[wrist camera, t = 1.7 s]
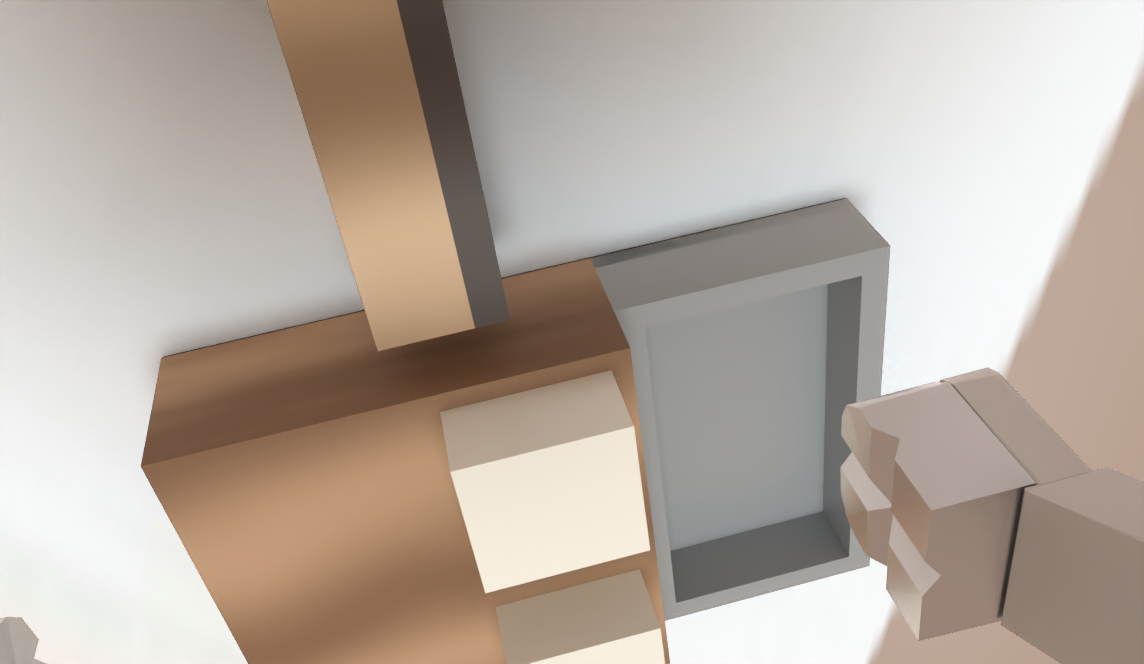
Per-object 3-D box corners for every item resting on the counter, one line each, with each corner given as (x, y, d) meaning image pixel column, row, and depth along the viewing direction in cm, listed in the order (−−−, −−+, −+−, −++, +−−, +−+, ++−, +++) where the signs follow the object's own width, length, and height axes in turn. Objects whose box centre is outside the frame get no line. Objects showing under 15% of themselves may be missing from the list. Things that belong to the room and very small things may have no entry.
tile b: (495, 606, 27) (507, 669, 25) (639, 569, 27) (660, 628, 26) (519, 693, 29) (532, 755, 28) (652, 657, 30) (671, 716, 28)
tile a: (440, 411, 23) (450, 472, 21) (611, 370, 23) (633, 426, 22) (473, 531, 25) (485, 593, 24) (628, 491, 26) (650, 550, 24)
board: (161, 357, 25) (141, 466, 22) (590, 258, 26) (630, 347, 23) (302, 649, 32) (302, 763, 29) (634, 562, 33) (669, 662, 30)
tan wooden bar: (199, -288, 18) (180, -270, 15) (366, -318, 18) (376, -305, 16) (369, 269, 25) (377, 350, 22) (487, 242, 26) (509, 319, 23)
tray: (590, 258, 26) (614, 311, 24) (846, 198, 27) (890, 245, 25) (634, 562, 33) (655, 623, 31) (835, 509, 34) (869, 565, 32)
